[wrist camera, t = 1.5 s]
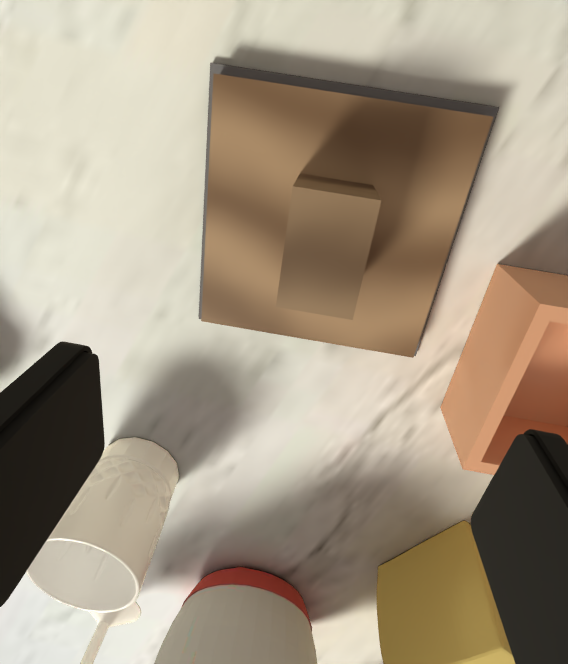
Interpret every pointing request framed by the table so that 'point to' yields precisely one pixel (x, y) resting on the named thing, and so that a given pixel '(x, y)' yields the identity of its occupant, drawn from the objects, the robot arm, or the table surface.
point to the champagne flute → (104, 623)
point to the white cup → (109, 529)
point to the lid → (331, 211)
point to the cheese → (439, 605)
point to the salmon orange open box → (511, 368)
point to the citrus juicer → (240, 622)
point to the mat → (343, 89)
